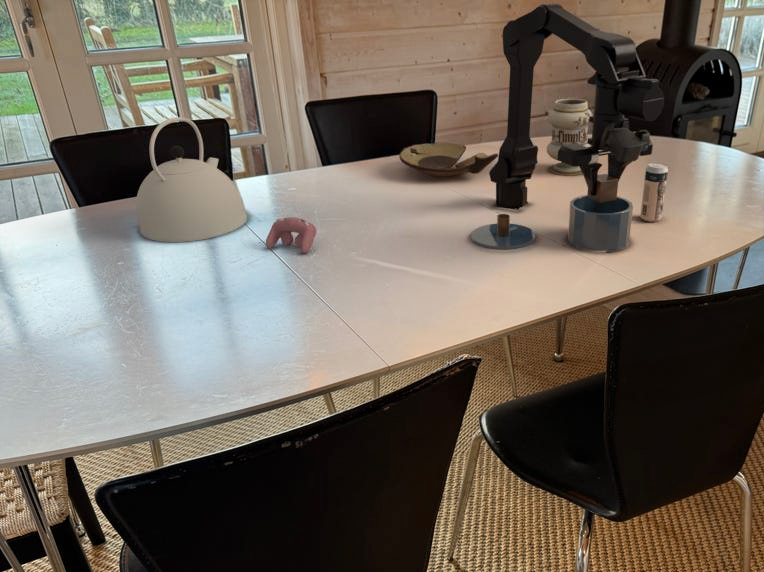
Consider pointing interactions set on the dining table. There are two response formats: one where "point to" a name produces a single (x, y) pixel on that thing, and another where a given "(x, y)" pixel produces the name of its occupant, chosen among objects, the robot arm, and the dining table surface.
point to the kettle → (187, 197)
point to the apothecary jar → (568, 130)
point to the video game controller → (283, 231)
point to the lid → (503, 234)
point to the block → (605, 189)
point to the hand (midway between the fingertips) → (601, 193)
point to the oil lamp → (443, 159)
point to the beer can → (654, 192)
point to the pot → (600, 224)
